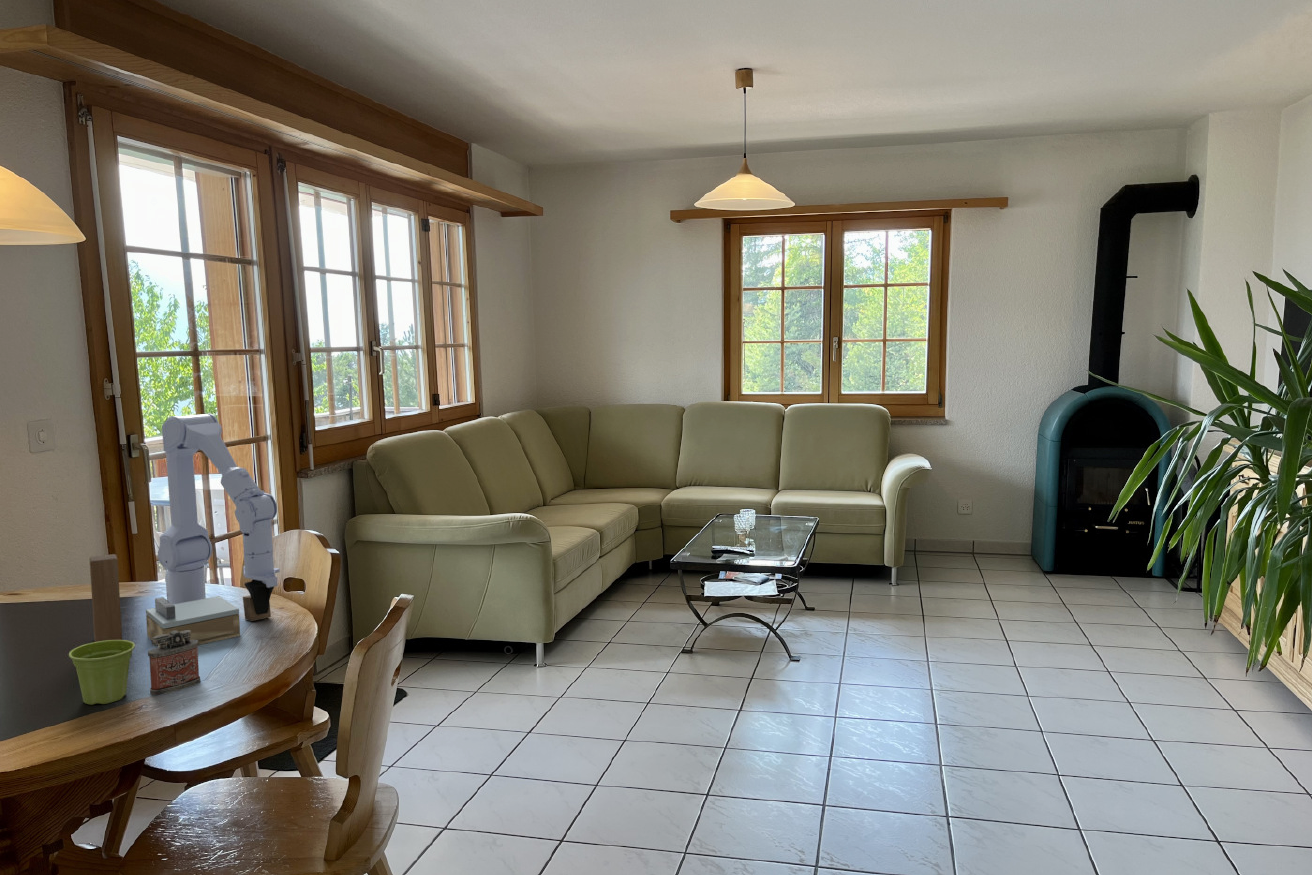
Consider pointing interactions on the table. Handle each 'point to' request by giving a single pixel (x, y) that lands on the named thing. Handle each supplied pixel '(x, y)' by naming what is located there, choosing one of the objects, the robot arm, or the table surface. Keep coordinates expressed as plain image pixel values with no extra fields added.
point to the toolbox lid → (189, 611)
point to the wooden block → (105, 598)
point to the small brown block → (253, 610)
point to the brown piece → (201, 629)
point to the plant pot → (103, 669)
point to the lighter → (173, 663)
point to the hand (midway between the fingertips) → (261, 613)
